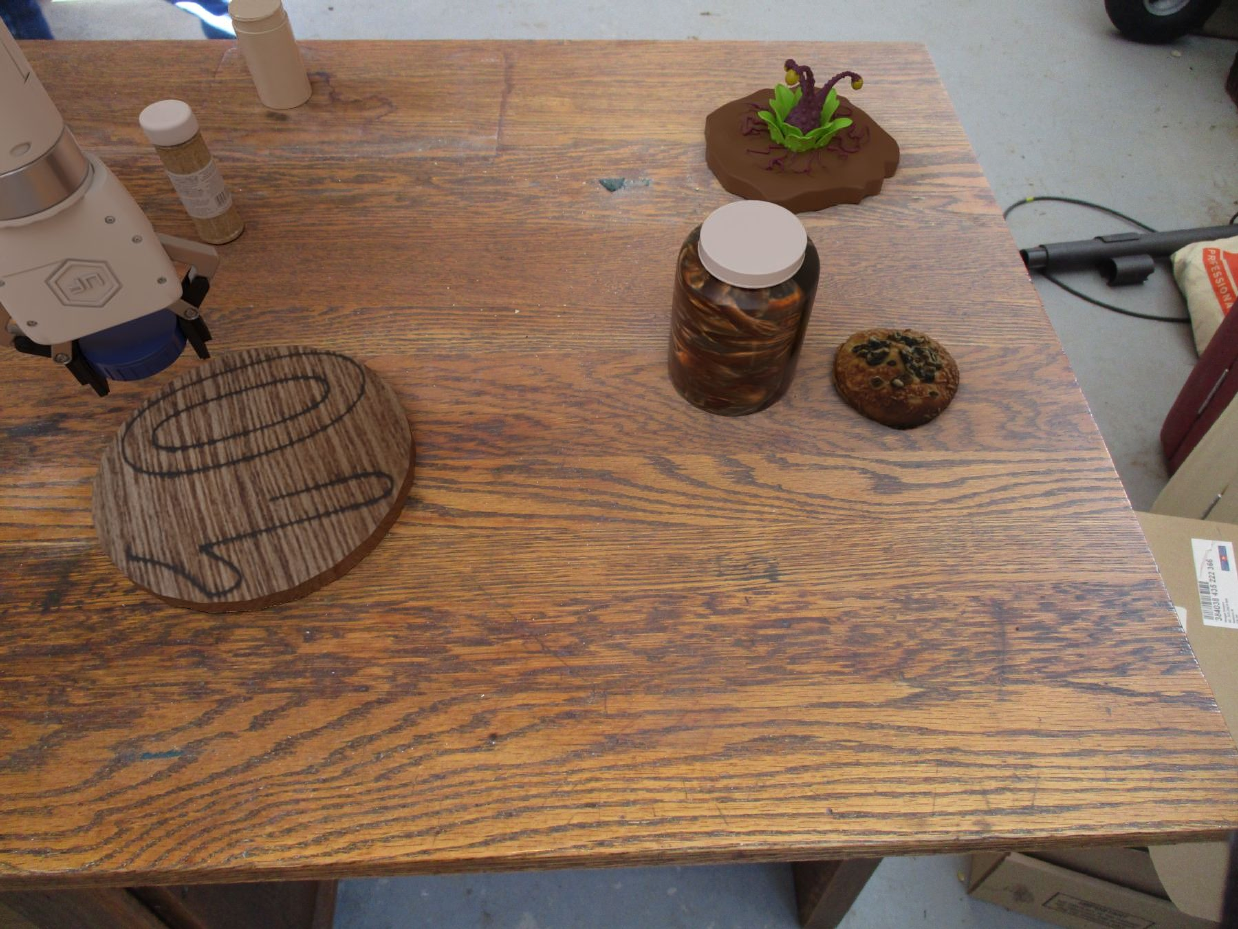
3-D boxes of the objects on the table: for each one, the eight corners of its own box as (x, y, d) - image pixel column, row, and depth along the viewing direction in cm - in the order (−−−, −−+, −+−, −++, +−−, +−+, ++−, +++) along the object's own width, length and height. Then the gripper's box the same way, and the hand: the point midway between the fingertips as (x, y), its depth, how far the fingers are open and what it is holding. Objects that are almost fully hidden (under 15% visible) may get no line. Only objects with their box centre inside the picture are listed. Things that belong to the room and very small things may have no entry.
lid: (207, 326, 63) (197, 309, 62) (148, 393, 60) (135, 376, 58) (132, 303, 65) (121, 286, 63) (70, 367, 61) (56, 350, 60)
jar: (811, 407, 73) (852, 281, 60) (681, 424, 72) (695, 299, 59) (775, 311, 79) (805, 178, 67) (655, 325, 78) (663, 193, 66)
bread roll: (877, 448, 70) (891, 405, 66) (803, 369, 77) (812, 326, 73) (981, 408, 73) (999, 364, 69) (901, 336, 80) (914, 293, 76)
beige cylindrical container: (250, 95, 99) (214, 4, 90) (291, 74, 101) (261, -17, 92) (280, 115, 96) (247, 24, 88) (322, 93, 99) (294, 2, 90)
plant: (672, 132, 95) (678, 35, 86) (814, 88, 100) (834, -8, 91) (767, 238, 85) (786, 142, 76) (919, 183, 90) (954, 86, 81)
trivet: (458, 534, 66) (454, 522, 64) (126, 669, 59) (113, 659, 58) (367, 325, 78) (361, 310, 76) (85, 417, 72) (73, 404, 70)
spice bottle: (220, 211, 87) (162, 92, 76) (254, 225, 86) (201, 105, 75) (189, 238, 85) (125, 118, 73) (224, 252, 84) (164, 132, 72)
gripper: (-149, 253, 45) (40, 444, 60) (177, 157, 50) (278, 356, 65) (-153, 176, 49) (26, 374, 64) (151, 94, 54) (252, 295, 68)
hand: (152, 363), depth 64 cm, fingers closed on lid, 6 cm apart
